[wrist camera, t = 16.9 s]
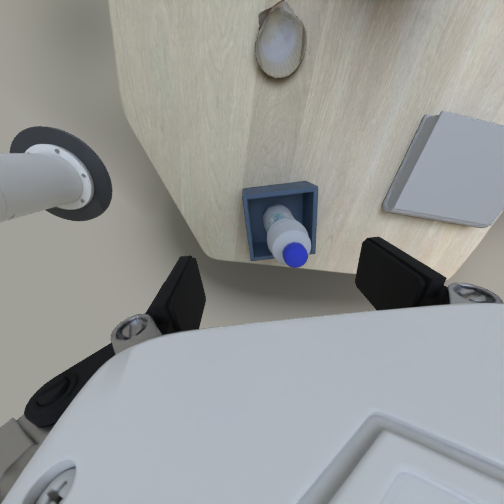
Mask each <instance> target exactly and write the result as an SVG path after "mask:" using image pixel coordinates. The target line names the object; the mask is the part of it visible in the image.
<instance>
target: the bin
mask: <svg viewBox="0 0 504 504" xmlns="http://www.w3.org/2000/svg"><path fill="white" fill-rule="evenodd" d="M242 198H243V206H244V213H245V221H246V228H247V236H248V243H249V251H250V259H251V261H254V260H255V261H256V260H265V259H273V258H274V256H273V254H272V253H271V251H270V250H269V248H268V244H267V232H266V229H265V227H264V224H263V215H264V213H265V211H266V210H267V208H268V207H270V206H273V205H276V204H280V205H283V206H285V207H287V208H288V209H289V210H290V212H291V213H292V215H293V217H294V219H295V220H296V221H298V222H300V223H301V224H302V225H303V226H304V227H305V229H306V230H307V233H308V236H309V238H310V241H311V250H310V253H309V254H315V248H316V226H317V203H318V186H316V185H314V184H311V183H309V182H307V181H301V182H293V183H285V184H277V185H268V186H260V187H252V188H244V189H243V192H242Z"/></svg>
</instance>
